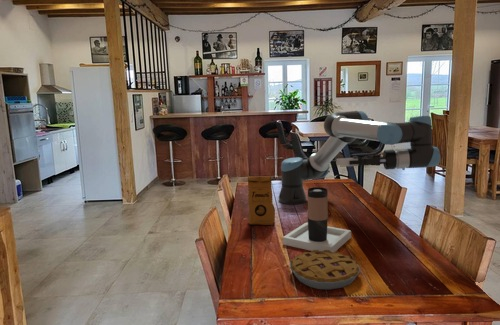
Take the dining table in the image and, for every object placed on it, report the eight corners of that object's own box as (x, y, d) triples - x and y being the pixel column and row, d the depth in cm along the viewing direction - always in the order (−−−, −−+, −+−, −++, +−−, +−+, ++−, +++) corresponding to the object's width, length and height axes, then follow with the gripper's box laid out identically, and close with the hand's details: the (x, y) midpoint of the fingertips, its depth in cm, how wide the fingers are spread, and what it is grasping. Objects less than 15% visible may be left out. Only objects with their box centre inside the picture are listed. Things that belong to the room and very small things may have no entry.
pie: (314, 299, 106) (314, 283, 105) (278, 268, 126) (277, 254, 125) (374, 282, 115) (375, 267, 114) (331, 256, 134) (332, 243, 134)
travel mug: (328, 236, 150) (328, 187, 147) (326, 243, 143) (326, 192, 140) (309, 234, 153) (309, 186, 150) (306, 241, 146) (305, 191, 142)
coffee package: (274, 227, 166) (273, 178, 162) (246, 226, 168) (244, 178, 164) (276, 220, 175) (275, 174, 172) (250, 219, 178) (248, 174, 174)
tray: (282, 244, 146) (282, 237, 146) (306, 229, 162) (306, 222, 162) (331, 255, 135) (331, 247, 134) (351, 237, 151) (351, 230, 150)
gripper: (404, 170, 131) (342, 174, 134) (388, 167, 155) (336, 170, 158) (403, 149, 130) (340, 153, 133) (387, 149, 155) (335, 152, 158)
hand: (338, 162), depth 146 cm, fingers open, 13 cm apart
